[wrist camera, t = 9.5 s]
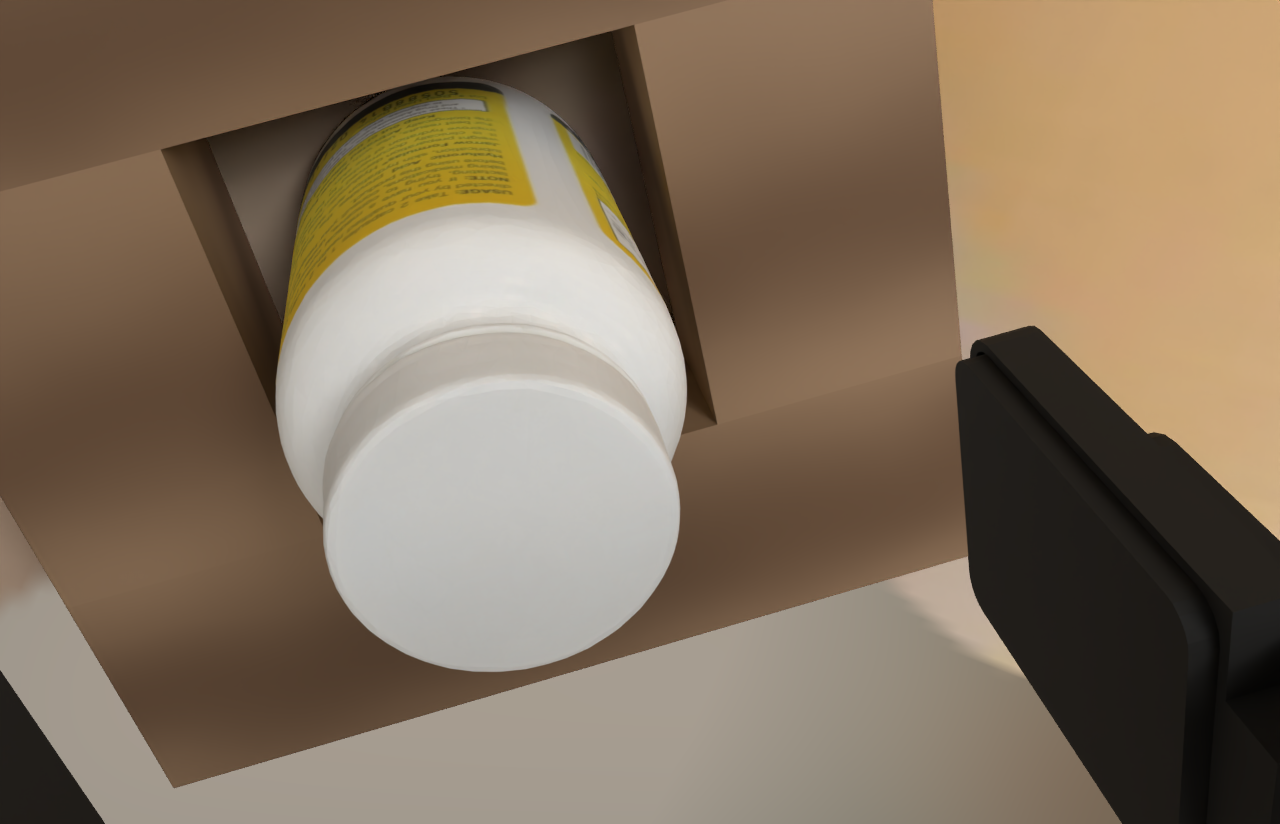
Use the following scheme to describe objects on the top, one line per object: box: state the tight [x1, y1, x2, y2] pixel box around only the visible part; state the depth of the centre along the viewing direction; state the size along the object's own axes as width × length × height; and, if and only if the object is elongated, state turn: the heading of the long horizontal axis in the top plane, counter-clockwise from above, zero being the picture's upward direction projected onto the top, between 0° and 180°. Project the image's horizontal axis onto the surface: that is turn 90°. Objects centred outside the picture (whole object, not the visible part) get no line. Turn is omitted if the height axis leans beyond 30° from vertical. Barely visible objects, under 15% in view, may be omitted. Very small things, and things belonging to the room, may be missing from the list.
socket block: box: [0, 0, 968, 788], centre depth 21 cm, size 16×16×3 cm
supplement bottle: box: [276, 77, 687, 672], centre depth 18 cm, size 5×5×10 cm
